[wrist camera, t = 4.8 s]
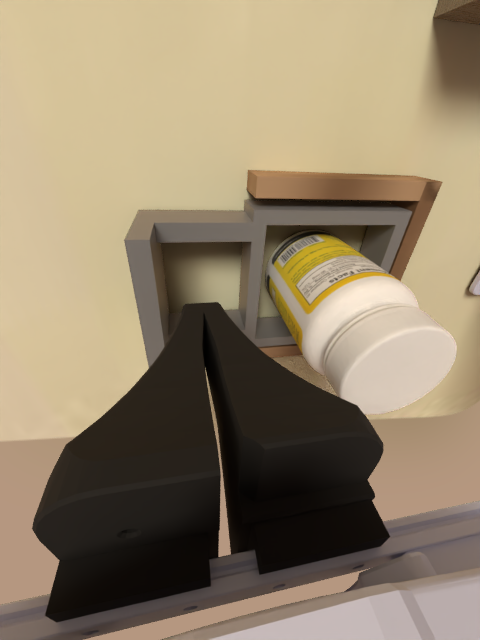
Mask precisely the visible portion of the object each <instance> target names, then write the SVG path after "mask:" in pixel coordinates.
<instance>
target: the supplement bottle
mask: <svg viewBox="0 0 480 640" xmlns="http://www.w3.org/2000/svg"><path fill="white" fill-rule="evenodd" d="M265 282H266V287H267V290H268V292H269V294H270V296H271V298H272V300H273V302H274V304H275V305H276V307H277V309H278V311H279V312H280V314H281V316H282V318H283V320H284V322H285V323H286V325H287V327H288V329H289V331H290V333H291V334H292V336H293V338H294V340H295V342H296V343H297V345H298V347H299V349H300V351H301V353H302V355H303V356H304V358H305V360H306V361H307V363H308V364H309V365H310V366H311V367H312V368H313V369H314V370H315V371H317V372H318V373H320V374H321V375H324V376H326V377H327V379H328V381H329V382H330V384H331V385H332V387H333V389H334V390H335V392H336V394H337V395H338V397H339V398H342V399H344V400H346V401H348V402H351V403H353V404H355V405H357V406H358V407H359V408H360V410H361V411H362V412H363V414H366V415H375V414H383V413H388V412H392V411H395V410H398V409H400V408H403V407H405V406H407V405H409V404H411V403H413V402H415V401H417V400H419V399H420V398H422V397H423V396H425V395H426V394H427V393H429V392H430V391H431V390H432V389H434V388H435V387H436V386H437V385H438V384H439V383H440V382H441V381H442V380H443V379H444V377H445V376H446V375H447V373H448V372H449V370H450V369H451V367H452V365H453V363H454V361H455V358H456V352H457V347H456V342H455V340H454V338H453V336H452V335H451V334H450V333H449V332H448V331H447V330H445V329H444V328H443V327H442V326H441V325H439V324H438V323H437V322H436V321H435V320H434V319H432V318H431V316H429V315H428V314H427V313H426V312H424V311H422V310H420V309H419V306H418V302H417V300H416V298H415V296H414V294H413V292H412V291H411V290H410V289H409V288H408V287H407V286H406V285H405V284H403V283H402V282H401V281H399V280H398V279H397V278H395V277H394V276H392V275H391V274H389V273H388V272H386V271H385V270H383V269H382V268H380V267H379V266H378V265H376V264H375V263H373V262H372V261H370V260H369V259H368V258H366V257H365V256H363V255H362V254H360V253H359V252H357V251H356V250H354V249H353V248H351V247H350V246H349V245H347V244H346V243H344V242H343V241H341V240H340V239H338V238H337V237H335V236H334V235H332V234H330V233H328V232H325V231H321V230H307V231H302V232H299V233H296V234H294V235H292V236H290V237H289V238H287V239H286V240H284V241H283V242H282V243H281V244H280V245H279V246H278V247H277V248H276V249H275V250H274V252H273V253H272V255H271V257H270V259H269V261H268V264H267V268H266V274H265Z"/></svg>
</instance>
